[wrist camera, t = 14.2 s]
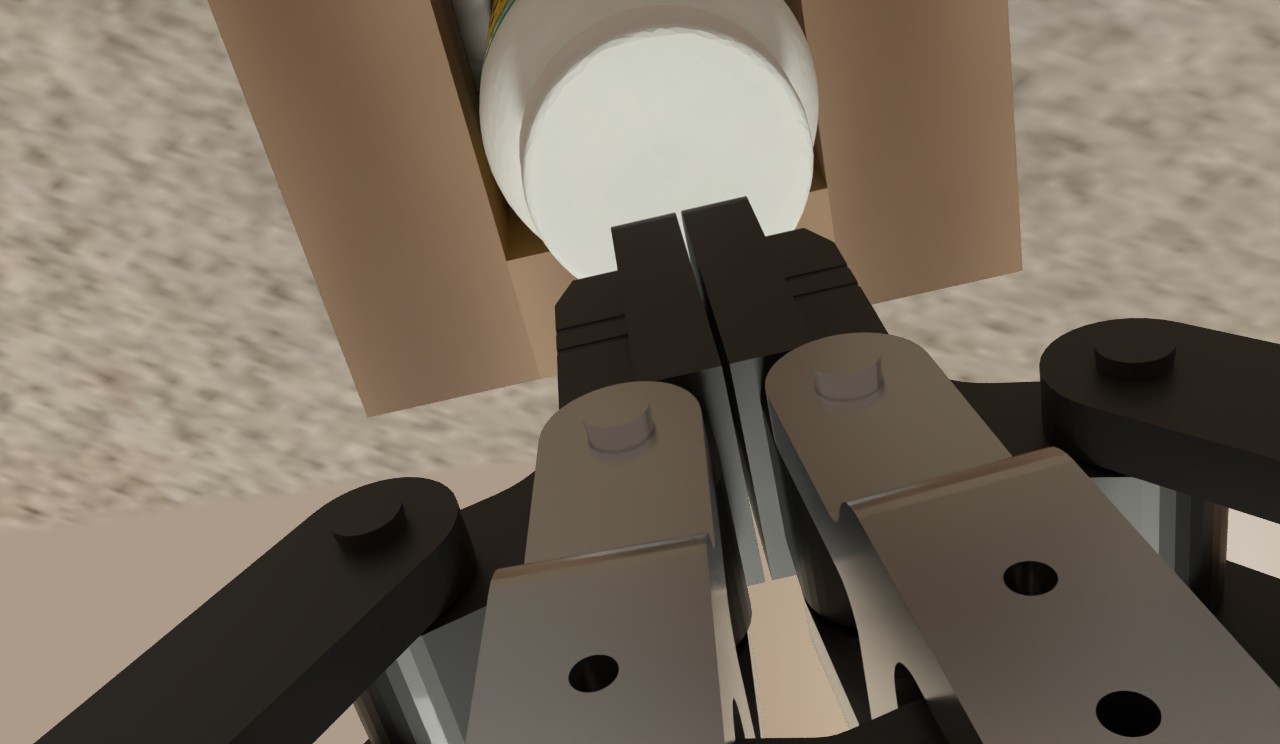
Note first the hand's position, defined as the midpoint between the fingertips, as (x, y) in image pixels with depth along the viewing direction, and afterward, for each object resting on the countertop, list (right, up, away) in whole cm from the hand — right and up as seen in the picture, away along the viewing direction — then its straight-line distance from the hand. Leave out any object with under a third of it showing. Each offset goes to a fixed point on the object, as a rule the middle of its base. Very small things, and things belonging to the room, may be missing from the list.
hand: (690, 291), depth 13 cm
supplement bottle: (-1, +6, +12) cm, 13 cm away
